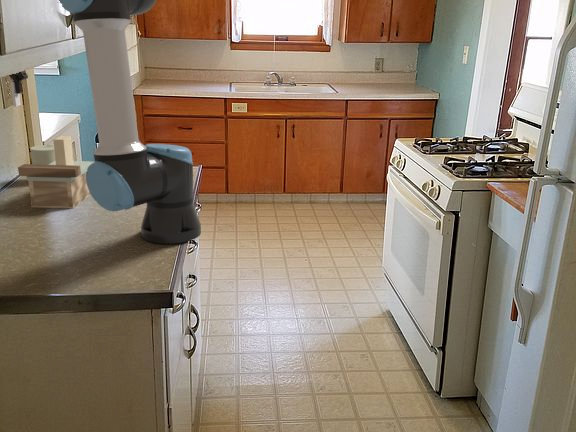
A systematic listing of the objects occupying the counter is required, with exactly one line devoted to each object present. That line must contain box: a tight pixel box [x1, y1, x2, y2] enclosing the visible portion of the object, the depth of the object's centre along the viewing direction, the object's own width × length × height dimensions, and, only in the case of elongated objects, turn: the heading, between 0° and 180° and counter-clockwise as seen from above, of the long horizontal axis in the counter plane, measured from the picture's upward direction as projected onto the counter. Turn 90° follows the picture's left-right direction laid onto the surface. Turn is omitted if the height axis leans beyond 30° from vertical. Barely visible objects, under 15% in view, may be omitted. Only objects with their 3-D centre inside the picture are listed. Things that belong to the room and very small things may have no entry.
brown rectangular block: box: [17, 163, 81, 178], centre depth 157 cm, size 4×16×2 cm, turn 90°
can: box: [30, 144, 56, 165], centre depth 185 cm, size 9×9×12 cm
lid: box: [25, 135, 95, 182], centre depth 165 cm, size 21×13×10 cm, turn 0°
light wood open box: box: [28, 172, 91, 209], centre depth 168 cm, size 20×12×8 cm, turn 0°
